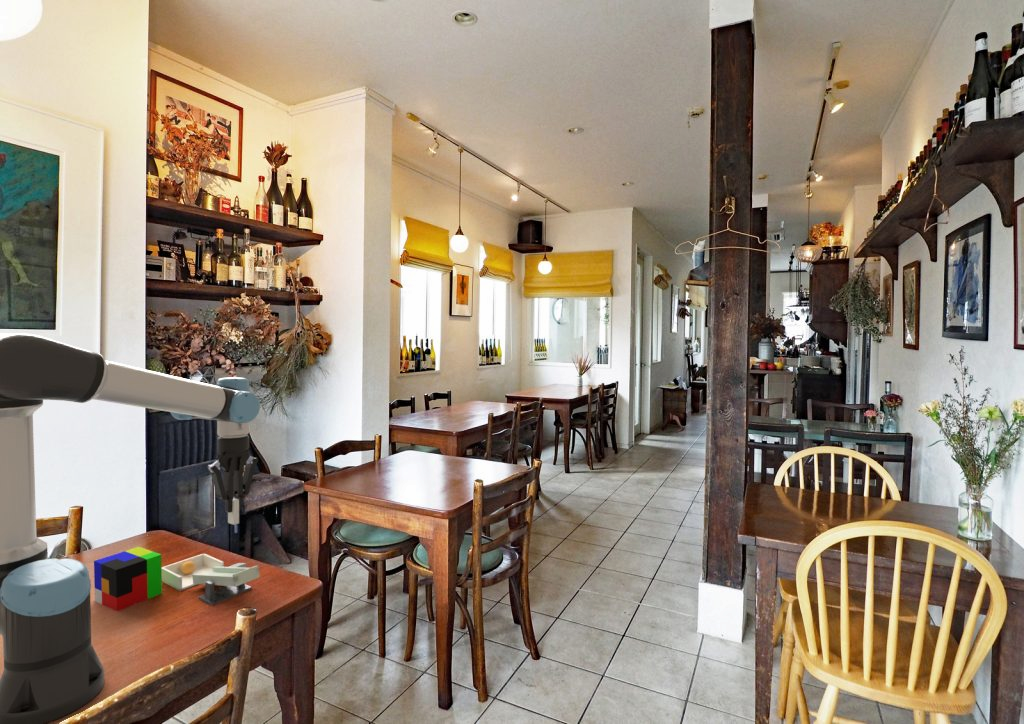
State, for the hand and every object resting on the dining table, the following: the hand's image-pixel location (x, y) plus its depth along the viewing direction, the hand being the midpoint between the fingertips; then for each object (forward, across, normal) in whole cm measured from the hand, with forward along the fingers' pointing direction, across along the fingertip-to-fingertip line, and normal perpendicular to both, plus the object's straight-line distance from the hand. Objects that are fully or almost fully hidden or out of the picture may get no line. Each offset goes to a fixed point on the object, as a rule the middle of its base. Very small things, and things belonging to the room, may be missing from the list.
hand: (233, 522), depth 142 cm
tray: (+15, -6, +8) cm, 18 cm away
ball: (+13, -6, +10) cm, 18 cm away
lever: (+11, -3, -8) cm, 14 cm away
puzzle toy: (+15, -20, +10) cm, 27 cm away
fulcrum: (+15, -6, -8) cm, 18 cm away
